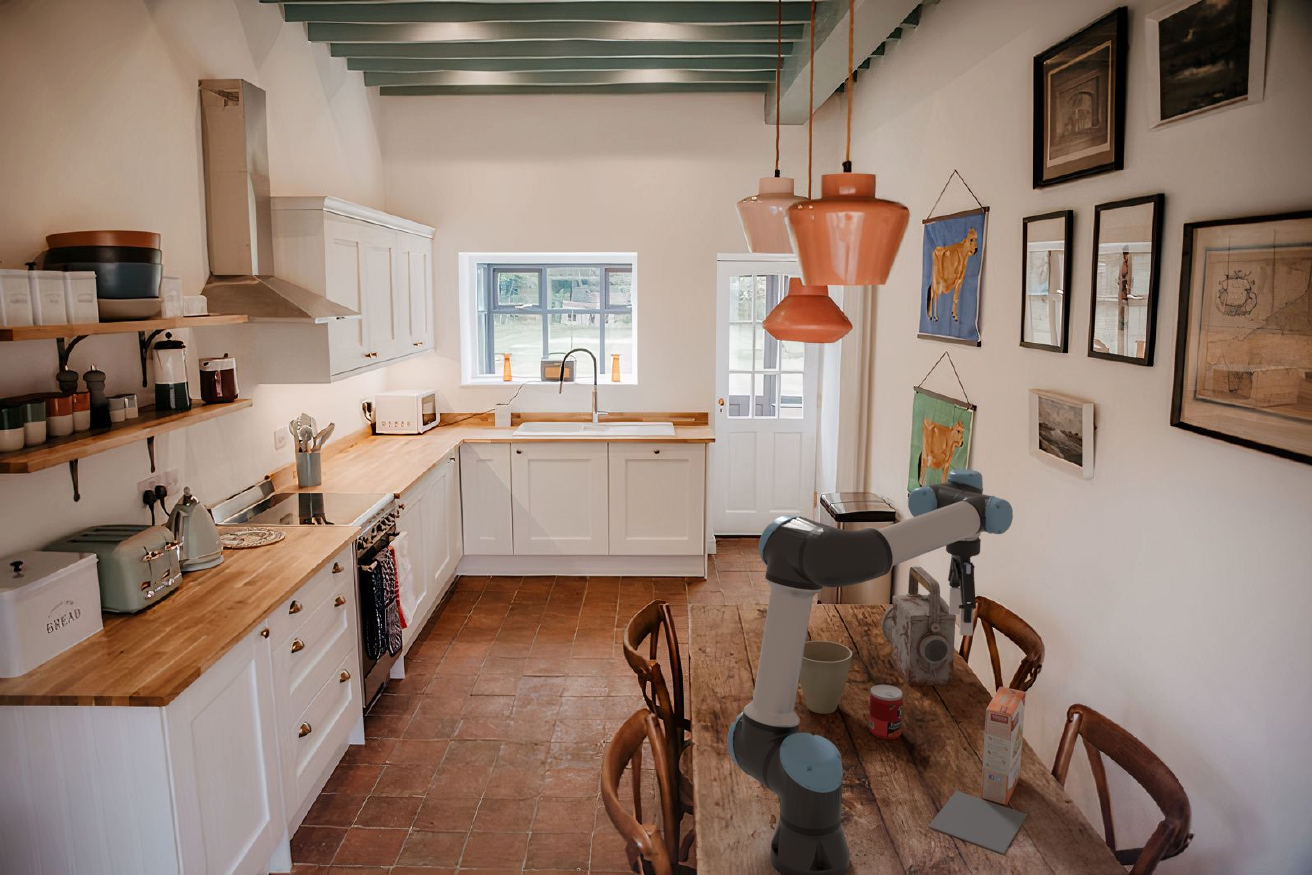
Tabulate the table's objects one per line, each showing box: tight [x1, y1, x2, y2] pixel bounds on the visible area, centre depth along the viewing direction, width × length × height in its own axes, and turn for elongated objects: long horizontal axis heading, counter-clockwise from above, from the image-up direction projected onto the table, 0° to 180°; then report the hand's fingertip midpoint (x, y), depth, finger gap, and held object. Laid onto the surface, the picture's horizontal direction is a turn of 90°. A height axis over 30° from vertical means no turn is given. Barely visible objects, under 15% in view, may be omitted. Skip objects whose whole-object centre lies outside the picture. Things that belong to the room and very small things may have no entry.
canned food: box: [869, 684, 904, 740], centre depth 219 cm, size 8×8×11 cm
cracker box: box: [980, 686, 1027, 807], centre depth 193 cm, size 14×6×21 cm, turn 147°
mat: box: [928, 790, 1028, 855], centre depth 182 cm, size 16×15×1 cm
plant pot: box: [799, 640, 853, 715], centre depth 233 cm, size 15×15×16 cm
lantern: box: [880, 566, 957, 687], centre depth 255 cm, size 16×27×30 cm, turn 2°
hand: (960, 624), depth 206 cm, fingers open, 13 cm apart
